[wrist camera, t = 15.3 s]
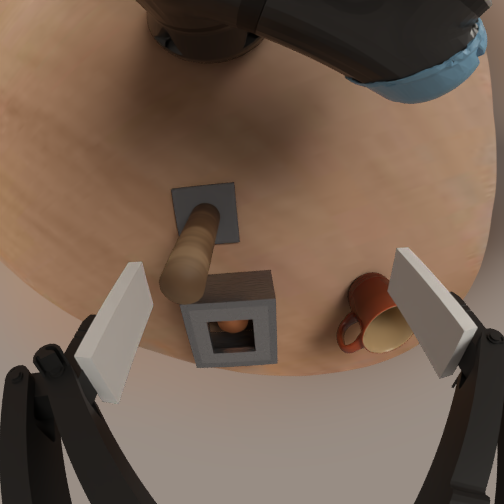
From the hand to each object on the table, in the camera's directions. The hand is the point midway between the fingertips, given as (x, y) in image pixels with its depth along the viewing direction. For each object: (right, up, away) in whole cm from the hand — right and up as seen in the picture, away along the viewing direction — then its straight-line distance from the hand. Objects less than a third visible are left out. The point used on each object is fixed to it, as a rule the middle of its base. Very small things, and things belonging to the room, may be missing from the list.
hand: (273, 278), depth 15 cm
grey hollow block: (-4, -7, +30) cm, 31 cm away
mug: (+16, -5, +31) cm, 35 cm away
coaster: (-7, +6, +24) cm, 25 cm away
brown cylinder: (-7, +6, +23) cm, 25 cm away
